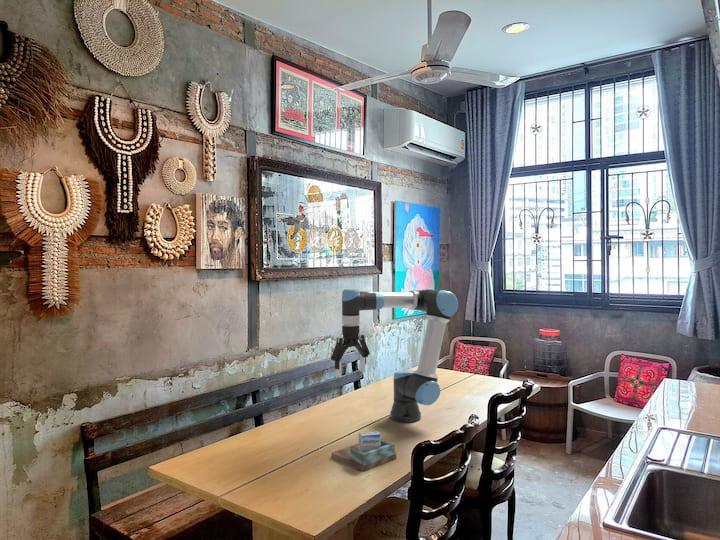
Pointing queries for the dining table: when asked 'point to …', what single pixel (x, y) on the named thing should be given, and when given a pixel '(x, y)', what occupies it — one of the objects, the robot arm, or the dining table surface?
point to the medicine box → (369, 441)
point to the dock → (366, 456)
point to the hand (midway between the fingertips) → (350, 374)
